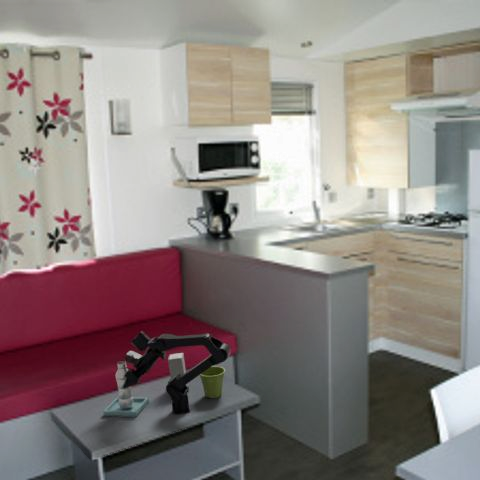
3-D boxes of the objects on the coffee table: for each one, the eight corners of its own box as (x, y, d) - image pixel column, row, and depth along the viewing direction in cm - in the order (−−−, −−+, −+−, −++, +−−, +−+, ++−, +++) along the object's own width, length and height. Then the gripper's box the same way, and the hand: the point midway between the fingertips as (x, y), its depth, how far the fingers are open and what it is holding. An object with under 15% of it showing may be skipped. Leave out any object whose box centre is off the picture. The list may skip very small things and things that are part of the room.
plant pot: (210, 403, 285) (208, 378, 283) (195, 395, 294) (192, 371, 292) (232, 394, 292) (230, 370, 290) (216, 387, 301) (214, 364, 299)
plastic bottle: (124, 412, 280) (118, 367, 277) (116, 407, 286) (111, 363, 282) (137, 407, 284) (132, 362, 281) (129, 403, 290) (124, 359, 286)
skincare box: (186, 391, 299) (183, 358, 296) (170, 393, 299) (167, 359, 297) (188, 384, 307) (185, 351, 305) (172, 385, 308) (169, 353, 305)
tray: (148, 402, 291) (148, 397, 290) (136, 417, 277) (135, 412, 276) (117, 401, 294) (117, 397, 294) (103, 416, 280) (103, 411, 280)
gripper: (143, 338, 288) (122, 362, 292) (126, 353, 270) (104, 379, 274) (162, 355, 287) (141, 379, 292) (147, 371, 269) (124, 397, 274)
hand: (127, 383), depth 283 cm, fingers open, 9 cm apart
